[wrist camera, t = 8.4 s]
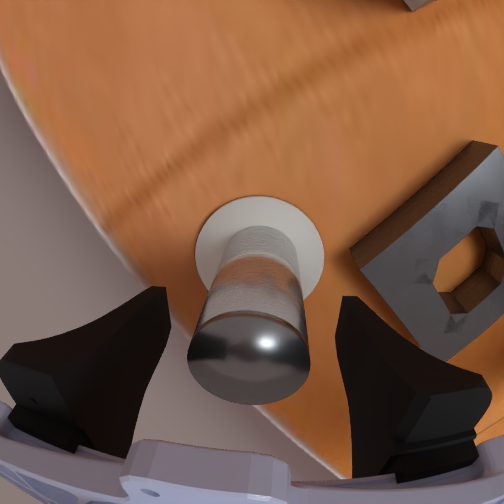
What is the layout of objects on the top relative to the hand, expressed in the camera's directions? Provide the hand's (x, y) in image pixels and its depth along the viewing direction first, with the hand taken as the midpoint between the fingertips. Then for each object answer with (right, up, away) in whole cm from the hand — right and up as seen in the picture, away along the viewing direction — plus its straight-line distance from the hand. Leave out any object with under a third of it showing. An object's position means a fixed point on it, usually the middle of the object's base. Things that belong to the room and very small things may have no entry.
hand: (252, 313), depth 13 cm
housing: (+12, +2, +4) cm, 13 cm away
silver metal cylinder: (0, +2, +4) cm, 5 cm away
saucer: (0, +2, +5) cm, 5 cm away
